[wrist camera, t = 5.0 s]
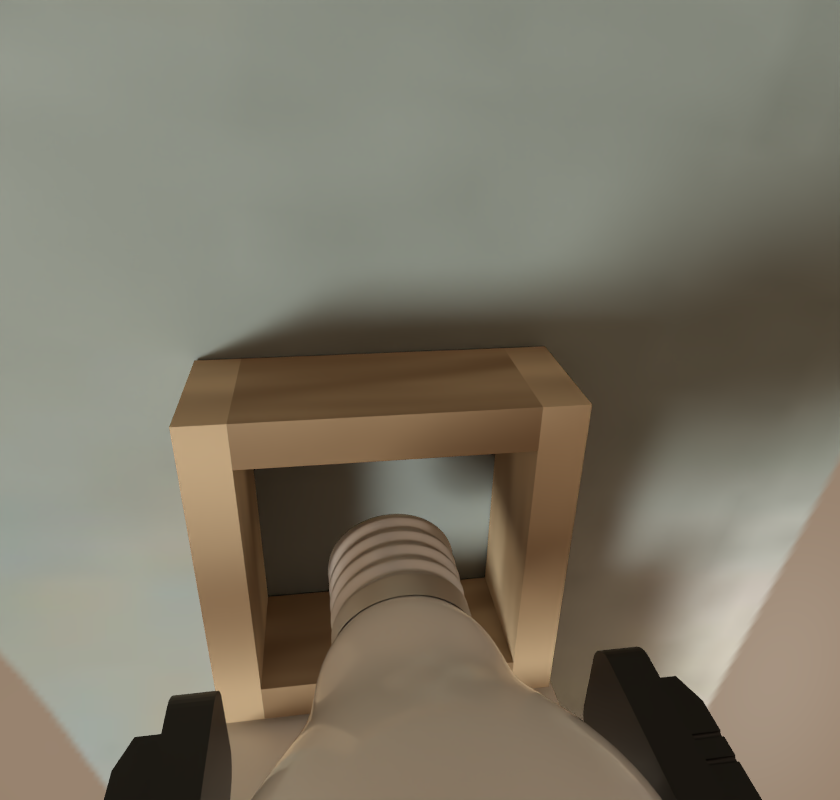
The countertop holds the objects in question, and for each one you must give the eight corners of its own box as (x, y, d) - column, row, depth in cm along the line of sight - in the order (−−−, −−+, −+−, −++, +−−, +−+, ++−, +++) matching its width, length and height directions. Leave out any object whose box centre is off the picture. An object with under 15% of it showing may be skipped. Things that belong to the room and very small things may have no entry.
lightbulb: (573, 463, 15) (1084, 1255, 5) (458, 663, 17) (657, 1453, 8) (292, 383, 13) (261, 1416, 3) (208, 621, 15) (45, 1611, 6)
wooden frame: (194, 360, 15) (169, 427, 12) (545, 346, 16) (592, 404, 13) (234, 627, 18) (221, 723, 16) (516, 600, 19) (548, 686, 17)
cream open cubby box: (227, 636, 18) (202, 817, 14) (522, 608, 20) (583, 767, 15) (256, 819, 22) (243, 1007, 18) (501, 786, 23) (545, 956, 19)
